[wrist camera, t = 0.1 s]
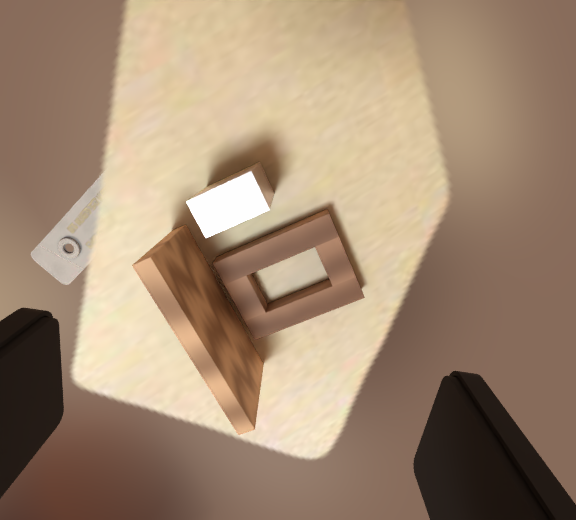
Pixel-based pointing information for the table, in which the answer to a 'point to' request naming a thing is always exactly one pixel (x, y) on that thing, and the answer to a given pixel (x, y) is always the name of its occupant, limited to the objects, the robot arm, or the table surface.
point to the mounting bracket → (71, 238)
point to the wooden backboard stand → (241, 303)
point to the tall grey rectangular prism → (232, 200)
